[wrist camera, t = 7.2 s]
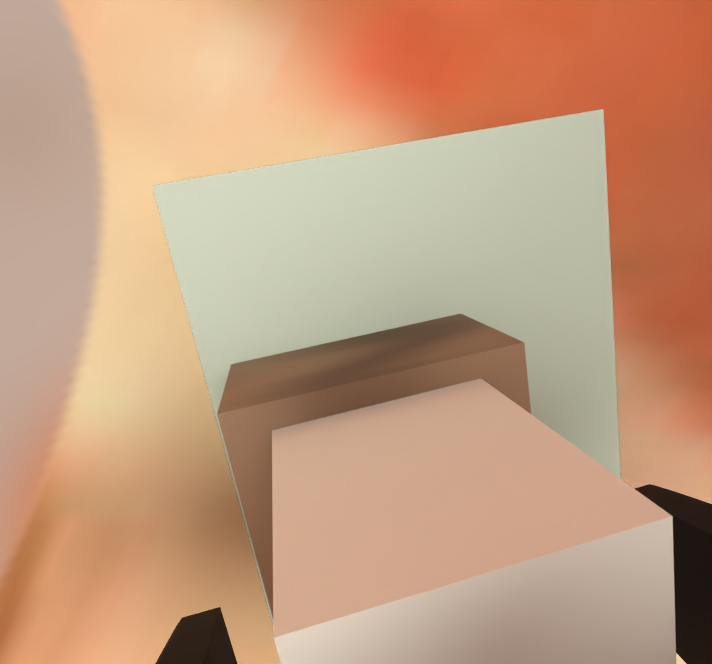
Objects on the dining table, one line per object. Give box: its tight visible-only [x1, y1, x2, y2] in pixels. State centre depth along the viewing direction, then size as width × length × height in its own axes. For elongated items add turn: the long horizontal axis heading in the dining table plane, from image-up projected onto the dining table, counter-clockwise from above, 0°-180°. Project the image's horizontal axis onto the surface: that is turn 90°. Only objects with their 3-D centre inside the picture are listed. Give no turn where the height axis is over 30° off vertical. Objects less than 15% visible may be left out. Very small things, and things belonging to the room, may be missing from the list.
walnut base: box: [217, 314, 531, 617], centre depth 12 cm, size 6×6×4 cm
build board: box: [152, 109, 621, 624], centre depth 14 cm, size 12×16×1 cm
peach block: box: [272, 378, 676, 664], centre depth 8 cm, size 4×4×5 cm
